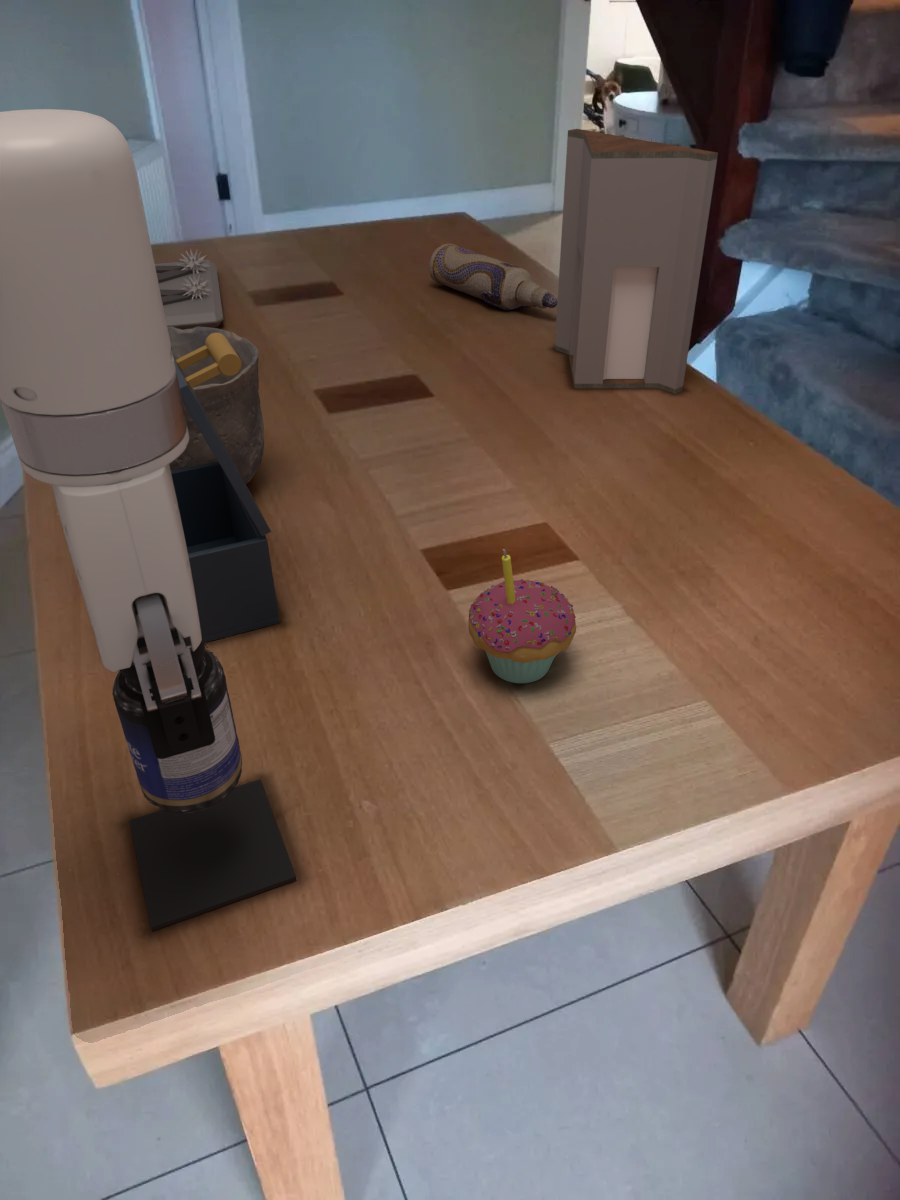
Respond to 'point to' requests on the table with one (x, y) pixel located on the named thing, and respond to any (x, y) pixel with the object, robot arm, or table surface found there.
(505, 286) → the decorative bottle
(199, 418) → the lid
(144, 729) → the pill bottle
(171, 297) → the gray box with spikes
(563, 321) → the cabinet
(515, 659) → the cupcake
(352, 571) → the table surface
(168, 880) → the mat
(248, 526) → the chest
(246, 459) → the bowl
